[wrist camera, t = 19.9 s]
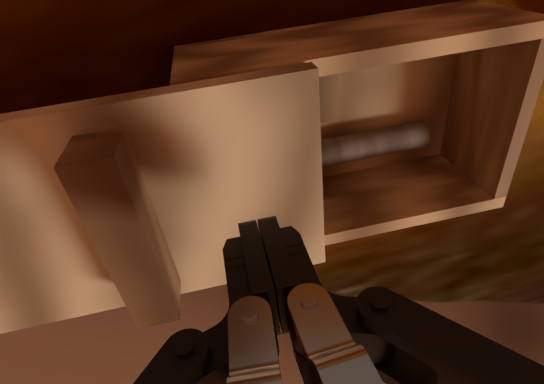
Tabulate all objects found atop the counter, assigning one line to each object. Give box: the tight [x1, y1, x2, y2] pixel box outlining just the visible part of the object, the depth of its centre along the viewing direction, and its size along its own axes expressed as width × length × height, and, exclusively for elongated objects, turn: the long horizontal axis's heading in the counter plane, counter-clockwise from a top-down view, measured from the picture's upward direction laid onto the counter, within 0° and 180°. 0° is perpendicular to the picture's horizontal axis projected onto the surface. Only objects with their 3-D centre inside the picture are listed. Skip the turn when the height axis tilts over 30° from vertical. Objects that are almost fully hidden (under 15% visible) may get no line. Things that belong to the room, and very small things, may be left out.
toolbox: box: [170, 0, 544, 245], centre depth 22 cm, size 18×11×7 cm, turn 96°
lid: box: [0, 62, 325, 334], centre depth 16 cm, size 18×11×4 cm, turn 96°
